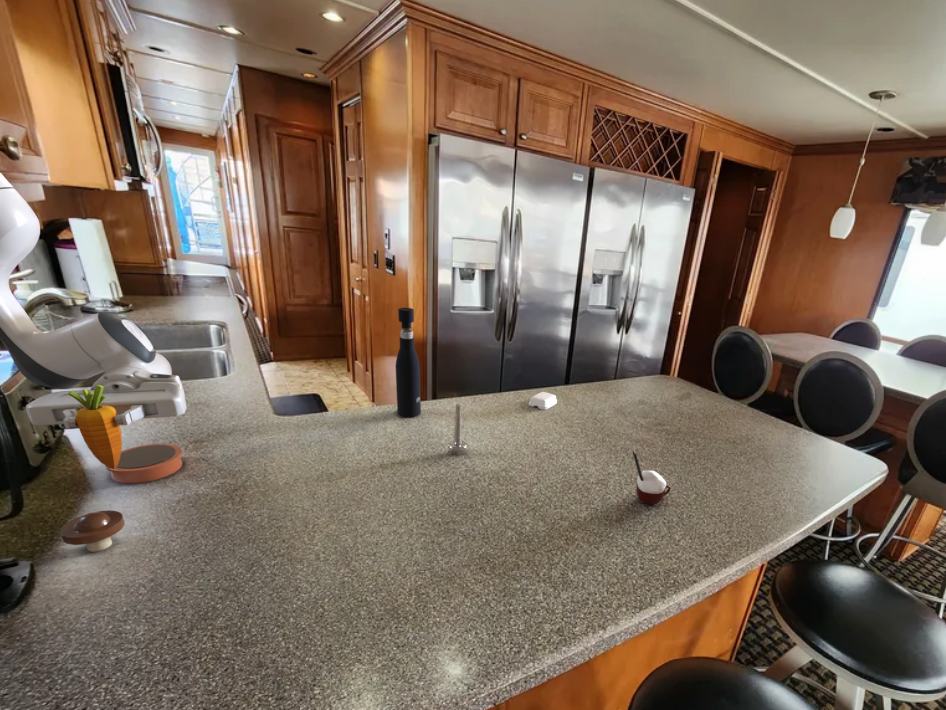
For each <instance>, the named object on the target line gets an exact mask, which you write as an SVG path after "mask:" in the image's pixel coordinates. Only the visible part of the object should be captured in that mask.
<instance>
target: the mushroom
mask: <svg viewBox="0 0 946 710" xmlns="http://www.w3.org/2000/svg"><path fill="white" fill-rule="evenodd" d="M125 524H126V522H125V518H124V515H123V513H122V512H120V511H117V510H98V511H93V512H88V513H85V514H83V515H80V516H77V517H75V518H73V519H71V520H69V521H68V522H66V523H64V525H63V526H62V527H61V528H60V530H59V534H60V536H61V539H62V541H63V542H64V543H65V544H67V545H69V546H70V545H71V546H83V545H85V546H86V548H87V550H88V551H89V552H92V553H96V552H101V551H104V550H106V549H108V548H109V547H111V546H112V544H113V540H112V538H111V537H112V536H114V535H116V534H117V533H119V532H120V531H121V530H122V529H123V528H124V527H125Z"/></svg>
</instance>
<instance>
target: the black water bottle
mask: <svg viewBox="0 0 946 710" xmlns="http://www.w3.org/2000/svg"><path fill="white" fill-rule="evenodd" d="M397 311H398V313H397V314H398V322H399V323H401V330H400V331H399V334H400V335H399V336H400V337H399V349H398V352H397V354H396V360H395V384H396V409H397V410H396V411H397V412H396V413H397V415H398V416H399V417H402V418H407V419H409V418H416V417H418V416H420V415H421V414H422V406H421V405H422V402H421V401H422V400H421V399H422V398H421V364H420V360H419V356H418V353H417V351H416V348H415V337H414V331H413V330H412V329H413V328H412V323H414V322H415V313H414V311H415V310H414V308H410V307H399V308H398V310H397Z"/></svg>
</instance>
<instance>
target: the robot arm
mask: <svg viewBox="0 0 946 710" xmlns="http://www.w3.org/2000/svg"><path fill="white" fill-rule="evenodd" d="M40 235H41V225H40V220H39V218H38V216H37V215H36V212H34V210H33V208H32V207H31V206H30V204H29V203H28V202H27V201H26V200H25V198H23V196H22V195H21V194H20V192H18V190H17V189H16V188H15V187H14V186H13V185H12V184H11V183H10V182H9V181H8V179H7V178H6V177H5V176H4V175H3V174H2V173H1V172H0V341H1V342H2V344H3V345H4V347H5V348H6V350H7V351H8V354H9V355H10V357H11V359H12V361H13V363H14V365H15V367H16V368H17V369H18V371H19V372H20V373H21V374H22V376H23V377H25V378H26V379H27V380H28V381H30V382H31V383H32V384H35V385H38V386H41V387H44V388H50V389H57V390H61V391H54V392H50V393H47V394H44V395H42V396H40V397H37V398H36V399H34V400H32V401H30V402H29V403H27V404H26V405H25V412H26V415H27V417H28V420H29V421H30V423H31V424H33V425H34V426H38V427H39V426H41V427H43V426H56V425H63V426H64V428H65V430H75V429H76V430H79V427H78V424H77V422H76V414H77V412H78V411H79V410H80V409H82V408H85V406H84V405H82V404H81V403H80V402H79V401H77V400H76V399H75V398H73V397H72V396H70V395H69V394H68V393H69V392H70V391H71V390H70V389H72V388H74V387H75V386H77V385H79V384H81V383H83V382H85V381H87V380H90V378H92V377H95V376H97V375H99V374H102V373H104V374H102V375H101V376H100V377H99V378H98V379H97V380H96V381H94V382H93V383H92V386H91V387H90V389H86V390H87V391H88V392H89V391H92V392H94V391H95V388H96V386H97V385H101V386H103V387H104V389H103V392H102V395H101V396H104V395H105V396H107V397H106V398H105V399H104V400H103V402H102V403H101V404H100V405H106V406H111V407H114V409H115V410H116V413H117V414H116V415H115V416H114V419H115V421H116V425H117V426H120V427H122V426H129V425H130V424H131V423H132V422H135V421H138V420H143V419H155V418H156V419H158V418H172V417H179V416H182V415H184V414H185V413H186V411H187V409H188V406H187V402H186V395H185V390H184V386H183V383H182V381H181V378H180V376H179V375H175V374H173V370H172V366H171V363H170V362H169V360H167V358H166V357H165V356H164V355H162V354H160V352H157V351H156V346H155V344H154V342H153V340H152V339H151V338H150V336H149V335H148V334H147V332H146V331H145V330H144V329H143V328H142V327H141V326H140V325H139V324H138V323H136V322H135V321H134V320H132V319H129V318H128V317H126V316H122V315H120V314H117V313H113V312H108V311H99V312H97V313H94V314H92V315H89V316H86V317H84V318H81V319H78V320H75V321H74V322H72V323H69V324H67V325H64V326H62V327H59V328H56V329H54V330H51V331H49V332H42V331H40V330H39V329H38V327H37V326H36V325H35V323H34V322H33V320H32V319H31V317H30V316H29V315H28V314H27V312H26V311H25V309H24V307H22V305H21V304H20V302H19V301H18V300H17V298H16V296H15V295H14V294H13V293H12V291H11V288H10V279H11V275H12V273H13V271H14V270H15V269H16V267H17V266H18V265H19V264H20V263H21V262H22V261H23V260H24V259H25V258H26V257H27V256H28V255H30V253H31V252H32V251H33V250H34V249H35V247H36V245H37V243H38V241H39V238H40ZM62 390H63V391H62ZM82 390H83V389H81V390H79V389H78V390H72V391H73V392H76V393H77V394H79V395H80V396H81V397H82V398H83V399H84V400H85V401H86V399H85V397H84V395H83V393H82ZM93 395H94V394H93Z"/></svg>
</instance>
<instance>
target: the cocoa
mask: <svg viewBox="0 0 946 710" xmlns="http://www.w3.org/2000/svg"><path fill="white" fill-rule="evenodd" d="M632 456H633V459H634V463H635V467H636V470H637V474H638V475H637V478H636V489H635V490H636V495H637V497H638V499H639V501H641V502H642V503H644V504H645V505H656V504H659V503H660V502H661V501H662V500H663V498H664V497H665V496H666V495H668V494H669V493H670V491H671V486H670V485H668V484H667V482H666V480H665V479H664V478H663V476H662V475H660V474H659V473H658V472H657V471H654V470H641V469H642V468H641V465H640V462H639V458H638V455H637V452H636V451H635V450H632ZM666 489H667V490H666Z"/></svg>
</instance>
